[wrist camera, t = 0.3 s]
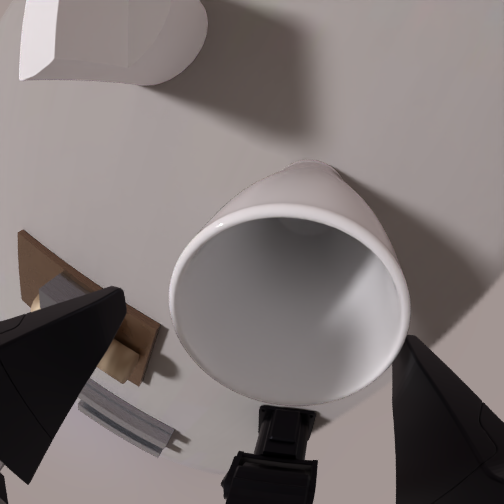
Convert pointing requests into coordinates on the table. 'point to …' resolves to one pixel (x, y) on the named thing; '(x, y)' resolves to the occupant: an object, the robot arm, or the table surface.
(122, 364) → the wooden axle
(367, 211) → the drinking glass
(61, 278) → the brown board with blocks
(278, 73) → the table surface
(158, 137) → the table surface
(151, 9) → the white stepped block
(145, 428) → the v block
